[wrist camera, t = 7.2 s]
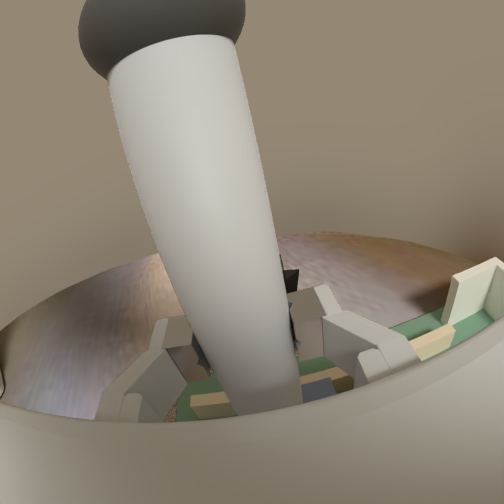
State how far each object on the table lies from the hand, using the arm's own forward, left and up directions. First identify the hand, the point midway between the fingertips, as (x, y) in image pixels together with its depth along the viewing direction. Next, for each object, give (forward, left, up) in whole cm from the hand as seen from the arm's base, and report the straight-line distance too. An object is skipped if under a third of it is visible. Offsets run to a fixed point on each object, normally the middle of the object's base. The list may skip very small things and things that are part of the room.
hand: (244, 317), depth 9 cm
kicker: (+1, 0, -11) cm, 11 cm away
